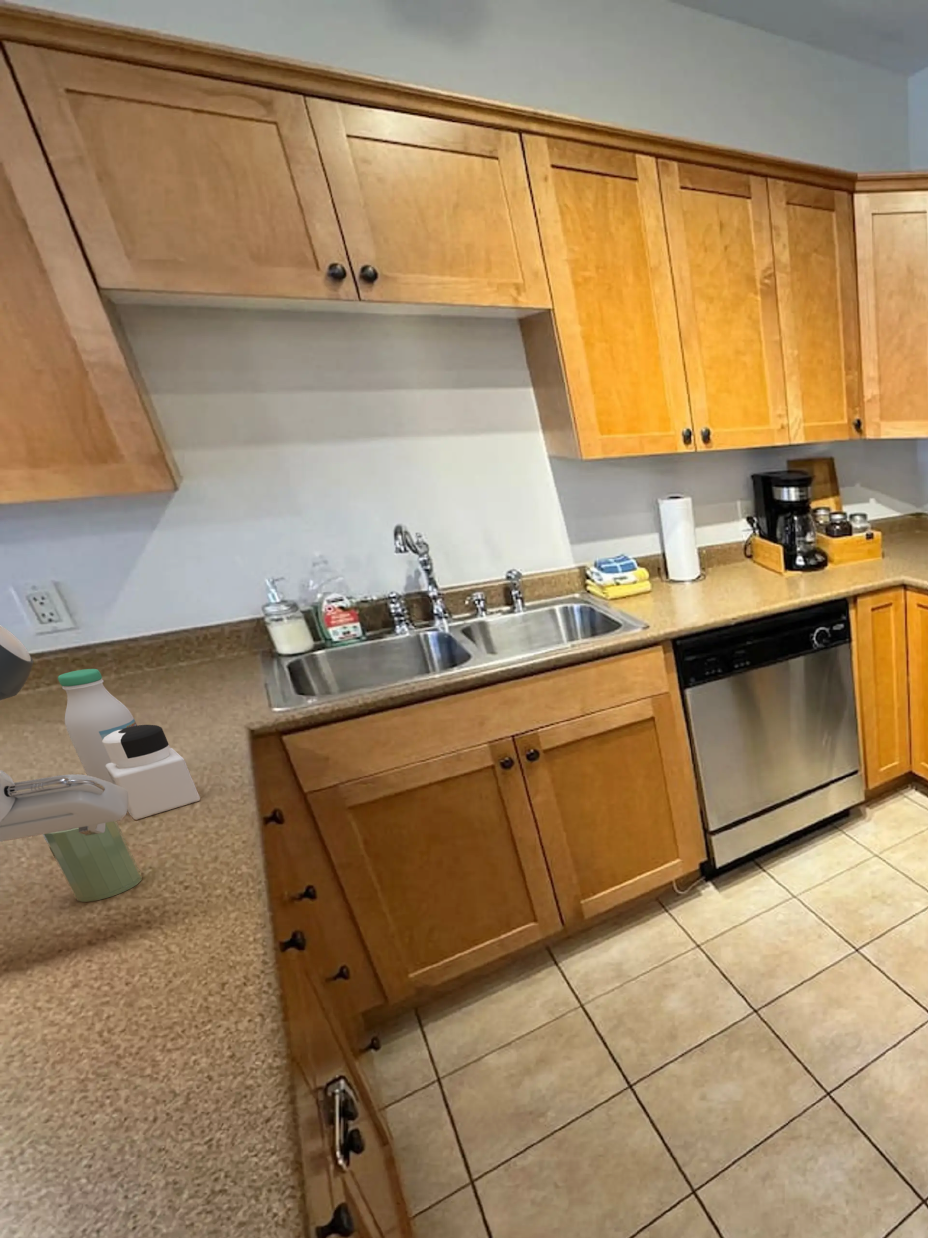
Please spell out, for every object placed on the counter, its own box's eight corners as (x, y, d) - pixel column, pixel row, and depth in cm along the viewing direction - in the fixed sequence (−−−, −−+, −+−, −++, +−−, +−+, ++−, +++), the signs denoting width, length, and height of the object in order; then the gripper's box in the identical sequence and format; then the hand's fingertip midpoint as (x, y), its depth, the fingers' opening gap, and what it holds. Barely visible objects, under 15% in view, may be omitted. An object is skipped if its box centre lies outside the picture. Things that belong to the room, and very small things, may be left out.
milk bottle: (101, 798, 120) (47, 683, 113) (89, 786, 124) (37, 675, 117) (165, 779, 126) (117, 669, 119) (152, 769, 130) (105, 662, 123)
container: (189, 788, 122) (159, 716, 118) (201, 800, 118) (170, 726, 113) (124, 807, 116) (89, 732, 112) (134, 821, 112) (99, 743, 108)
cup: (71, 907, 91) (35, 838, 88) (82, 886, 96) (48, 819, 92) (138, 889, 95) (106, 821, 91) (146, 869, 99) (115, 804, 96)
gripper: (85, 750, 79) (160, 793, 91) (-201, 793, 71) (-78, 834, 83) (81, 804, 77) (158, 840, 89) (-215, 855, 69) (-87, 888, 81)
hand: (42, 838), depth 86 cm, fingers open, 8 cm apart
